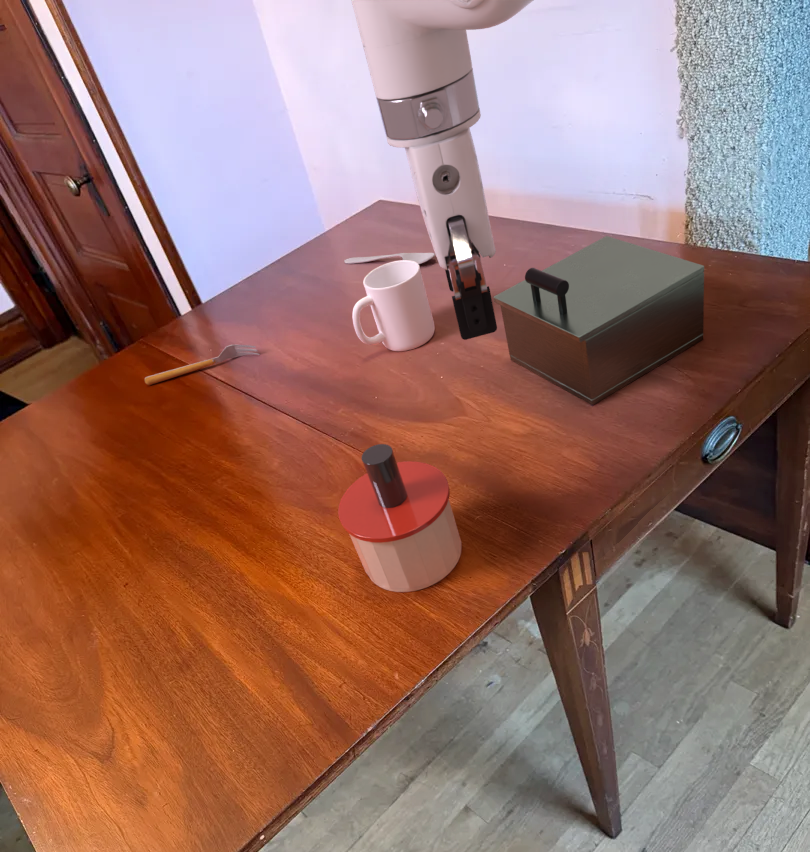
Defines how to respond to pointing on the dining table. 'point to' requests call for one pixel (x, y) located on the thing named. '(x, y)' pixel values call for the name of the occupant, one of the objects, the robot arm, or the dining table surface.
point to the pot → (413, 556)
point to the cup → (396, 306)
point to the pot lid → (392, 497)
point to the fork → (202, 363)
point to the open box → (610, 344)
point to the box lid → (596, 287)
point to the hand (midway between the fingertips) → (472, 309)
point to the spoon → (415, 257)
